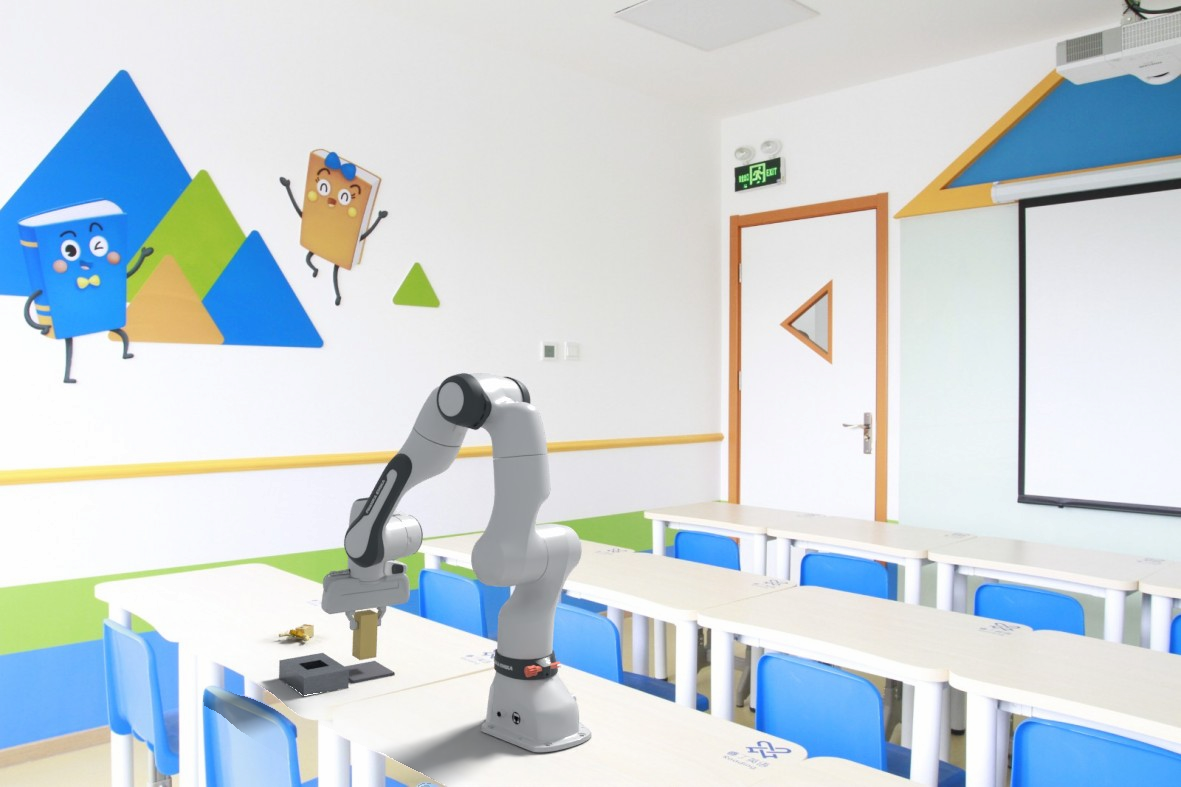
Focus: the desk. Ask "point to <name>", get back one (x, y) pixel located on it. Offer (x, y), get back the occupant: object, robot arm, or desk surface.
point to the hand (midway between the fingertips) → (365, 627)
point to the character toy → (300, 632)
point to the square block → (365, 635)
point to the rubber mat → (367, 671)
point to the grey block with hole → (313, 674)
